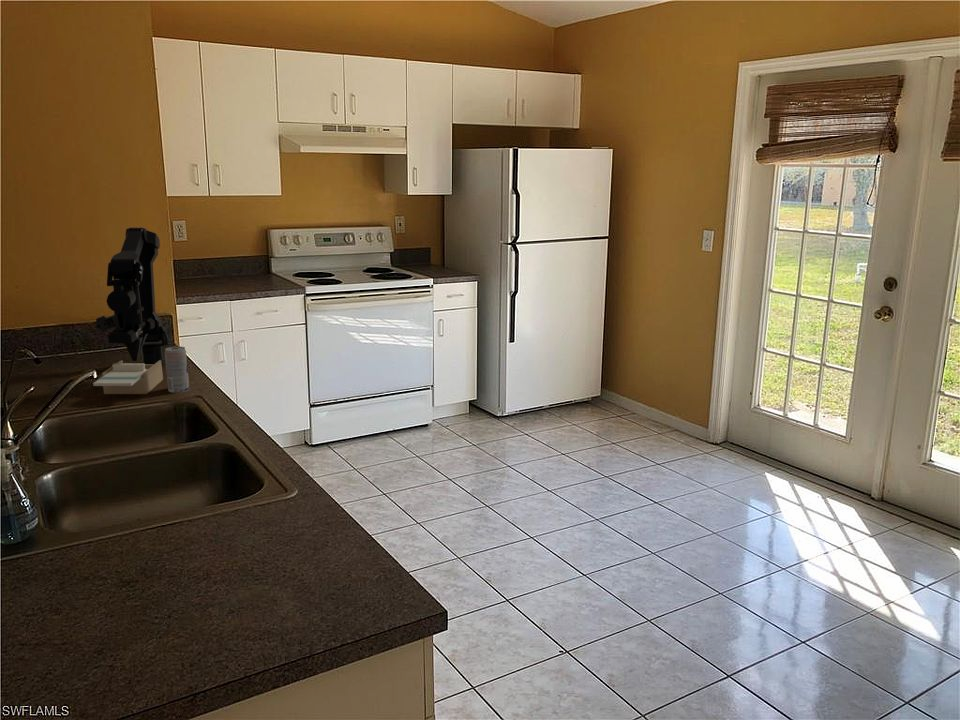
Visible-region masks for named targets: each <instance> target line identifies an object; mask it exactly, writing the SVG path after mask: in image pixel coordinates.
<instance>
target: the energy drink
mask: <svg viewBox="0 0 960 720" xmlns="http://www.w3.org/2000/svg"><path fill="white" fill-rule="evenodd" d="M164 360H165V362H166V363H165V369H166V370H165V371H166V379H167V382H166V383H167V390H168V392H170V393H172V394H173V393H177V394H179V393H184V392H188V391H189V390H190V379H189V371H188V359H187V350H186V348H185V346H169V347H166V348H165V350H164Z"/></svg>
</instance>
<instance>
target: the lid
mask: <svg viewBox="0 0 960 720" xmlns="http://www.w3.org/2000/svg"><path fill="white" fill-rule="evenodd" d="M112 366H113V370H111V371H110V372H108V373H107V374H106V375H104V376H103V377H102V376H100V377H99V378H98V379H97V380H96V381H94V382H93V383H92V384H93V385H92V386H93V387H103V386H132V385H133V384H134V383H136V382H137V381H138V380H139V379H141V378H142V377H143V373H144V372H145V371H146V370H148V369H145V363H143V362H141V363H139V362H138V363H133V362H132V363H131V362H130V363H124V362H123V363H118V362H116V363H115V362H114V363H112Z"/></svg>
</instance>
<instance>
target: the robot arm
mask: <svg viewBox="0 0 960 720" xmlns="http://www.w3.org/2000/svg"><path fill="white" fill-rule="evenodd" d="M124 236H125V238H124V241H123V243H122V246H121V248H120V251H119V252H117V253H115V254H114V255H113V256H112V258H111V259H110V262H108V264H107V274H106V275H107V276H106V277H107V278H106V286H107V287H113V290H112V291H111V292H110V293H109V294H108V295H107V298H106V304H107V306H108V308H109V310H111V311H112V312H113V314H112V315H108V316H105V315H102V316H98V317H97V318H96V319H95V322H94V324H95V328H96V329H97V330H99V331H100V333H104V332H106V331H108V330H111V329H113V328H114V329H113V330H112V331H110V332H109V333H108V334H107V335H106V341H107V344H124V345H125V347H126V349H127V351H128V354H129V357H130V358H131V360H132V361H133V362H137V361H138V360H139V358H140V354H141V358H142V359H141V360H142V363H145V364H155V363H157V362H158V361H159V360H161V364H162V367H163V366H164V365H166V362H165V359H164V357H163V356H164V355H163V347H165V346H167V345H169V337H168V334H167V331H166V329H165V327H164V326H163V321H162V319H161V318H160V316H159V315H158V314H157V313H156V300H155V299H156V298H155V297H156V296H155V280H154V279H155V278H154V265H153V264H154V263H155V260H156V259H157V257H158V255H159V249H160V246H161V242H160V241H161V239H160V237H159V236H158V234H157V233H156V232H153V231H150V230H148V229H147V228H146V227H145V228H144V227H128V228H126V230H125V235H124Z"/></svg>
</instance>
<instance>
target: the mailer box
mask: <svg viewBox="0 0 960 720" xmlns="http://www.w3.org/2000/svg"><path fill="white" fill-rule="evenodd" d="M123 361H124V360H123V359H122V360H121V359H120V360H119V361H118V362H117V363H124V362H123ZM162 367H163V366H162V364H161V360H159V361H158V362H157V363H155V364H145V369H148V370H146V371H145V372H144V373H143V377H142V378H141V379H139V380H138V381H137V382H136V383H134V384H133V385H132V386H102V388H103V394H104V395H147V394H148V393H150V392H151V391H152V390H154V388H155V387H156V386H157V385H159V384H160V383H161V382H162V381H164V376H163V368H162ZM111 370H113V365H112V366H110V367H109V368H108V369H106V370H104V371H103V372H101V377H103V376H104V375H106V374H107V373H108V372H110V371H111Z"/></svg>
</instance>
